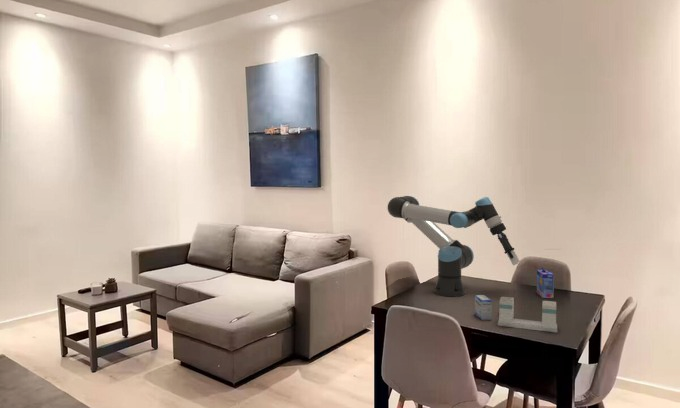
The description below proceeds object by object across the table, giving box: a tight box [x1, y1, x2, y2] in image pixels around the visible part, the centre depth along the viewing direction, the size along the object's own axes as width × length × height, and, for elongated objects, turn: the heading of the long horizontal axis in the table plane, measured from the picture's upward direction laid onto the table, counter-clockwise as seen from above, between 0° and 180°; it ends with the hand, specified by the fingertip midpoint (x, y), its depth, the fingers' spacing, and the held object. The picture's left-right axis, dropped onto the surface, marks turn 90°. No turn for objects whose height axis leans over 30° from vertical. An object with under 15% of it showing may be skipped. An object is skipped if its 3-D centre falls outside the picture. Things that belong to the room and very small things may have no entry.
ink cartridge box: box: [536, 266, 555, 299], centre depth 233 cm, size 10×6×14 cm, turn 174°
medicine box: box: [474, 294, 493, 321], centre depth 200 cm, size 8×4×9 cm, turn 5°
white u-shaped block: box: [497, 296, 558, 334], centre depth 188 cm, size 22×8×10 cm, turn 66°
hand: (516, 263), depth 232 cm, fingers open, 13 cm apart
